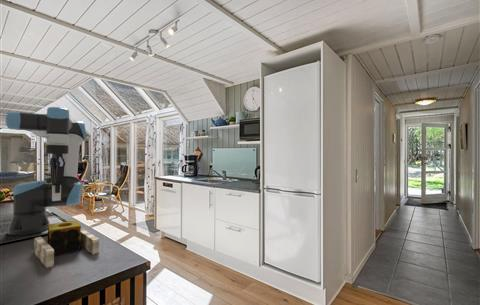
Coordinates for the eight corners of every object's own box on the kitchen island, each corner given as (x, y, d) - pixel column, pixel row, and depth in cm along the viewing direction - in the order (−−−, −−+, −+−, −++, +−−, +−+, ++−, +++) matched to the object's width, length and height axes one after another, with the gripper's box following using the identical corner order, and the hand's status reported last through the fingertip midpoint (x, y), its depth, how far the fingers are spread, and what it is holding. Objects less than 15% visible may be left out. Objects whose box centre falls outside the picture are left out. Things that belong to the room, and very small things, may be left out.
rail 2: (76, 242, 102) (77, 229, 102) (82, 241, 104) (82, 228, 104) (92, 254, 91) (93, 240, 91) (98, 253, 92) (99, 238, 92)
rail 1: (34, 252, 91) (34, 238, 91) (40, 250, 93) (41, 236, 93) (46, 268, 80) (46, 251, 80) (53, 265, 81) (54, 249, 81)
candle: (47, 258, 87) (48, 230, 87) (46, 249, 95) (46, 224, 95) (80, 251, 94) (81, 225, 94) (77, 243, 101) (77, 219, 101)
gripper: (42, 144, 102) (41, 199, 102) (50, 144, 94) (49, 204, 94) (63, 144, 108) (62, 197, 108) (73, 144, 100) (71, 201, 100)
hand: (56, 200), depth 101 cm, fingers closed
